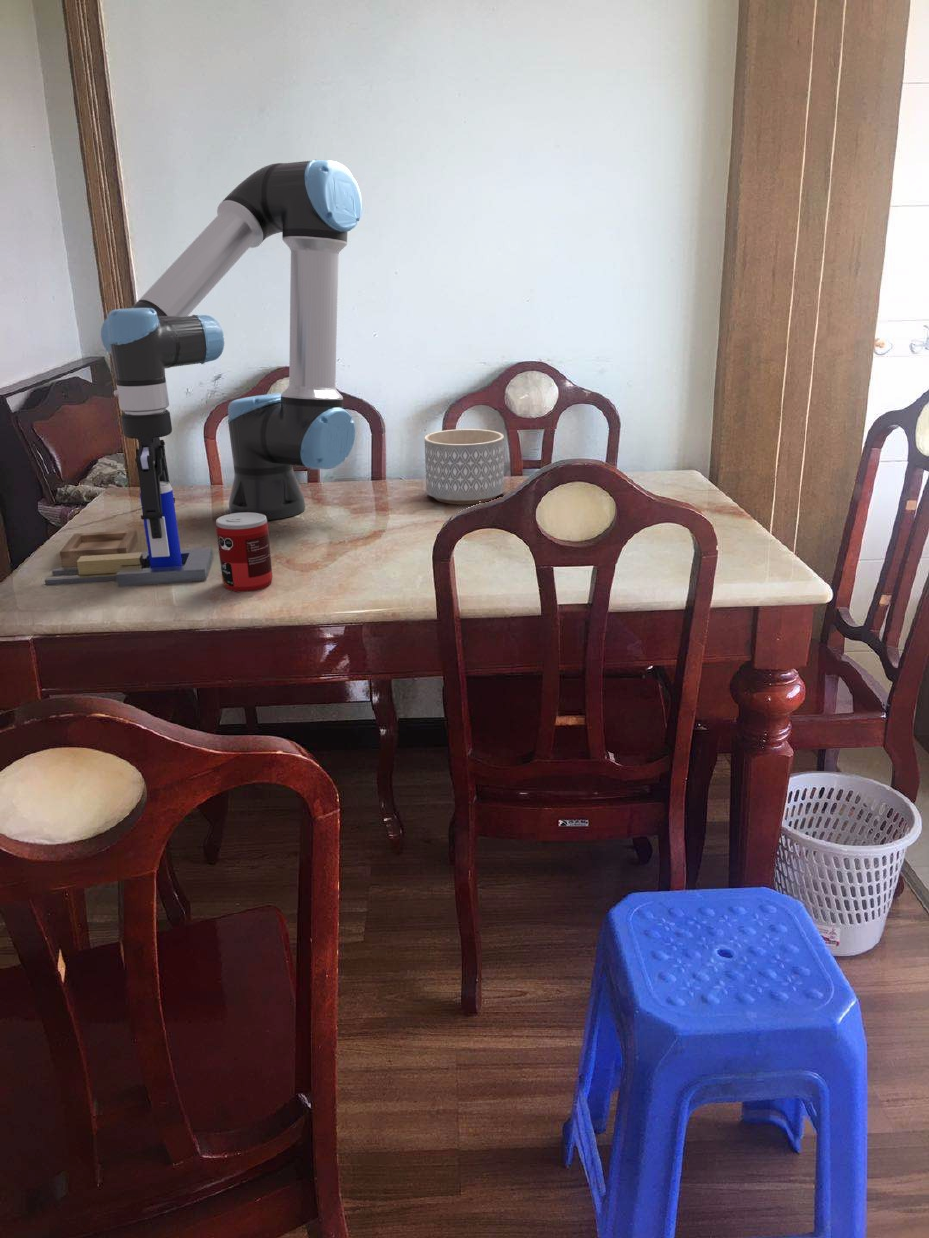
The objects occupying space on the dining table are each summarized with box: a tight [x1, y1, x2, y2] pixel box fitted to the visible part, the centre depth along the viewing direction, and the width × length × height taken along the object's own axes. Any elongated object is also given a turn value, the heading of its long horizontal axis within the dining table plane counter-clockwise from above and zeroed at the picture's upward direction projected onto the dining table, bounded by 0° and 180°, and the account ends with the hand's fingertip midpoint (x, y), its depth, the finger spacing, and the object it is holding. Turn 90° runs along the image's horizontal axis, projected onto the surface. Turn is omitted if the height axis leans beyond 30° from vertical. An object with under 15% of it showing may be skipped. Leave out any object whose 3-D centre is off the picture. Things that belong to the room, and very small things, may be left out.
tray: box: [59, 529, 140, 568], centre depth 177 cm, size 11×11×3 cm
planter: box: [423, 428, 505, 505], centre depth 208 cm, size 16×16×13 cm
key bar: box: [76, 553, 145, 576], centre depth 166 cm, size 10×3×3 cm, turn 98°
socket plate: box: [44, 547, 214, 587], centre depth 167 cm, size 26×12×2 cm, turn 98°
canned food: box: [215, 512, 273, 593], centre depth 159 cm, size 8×8×11 cm
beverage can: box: [139, 481, 183, 568], centre depth 165 cm, size 5×5×15 cm
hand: (164, 549), depth 166 cm, fingers open, 7 cm apart
